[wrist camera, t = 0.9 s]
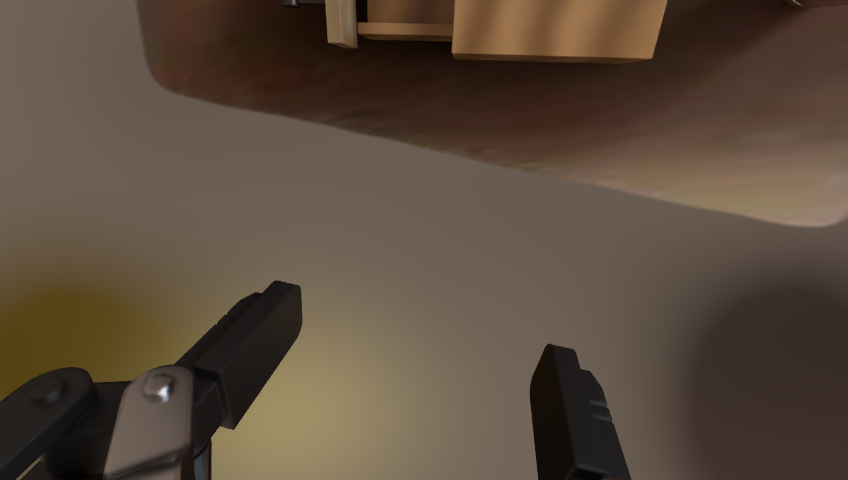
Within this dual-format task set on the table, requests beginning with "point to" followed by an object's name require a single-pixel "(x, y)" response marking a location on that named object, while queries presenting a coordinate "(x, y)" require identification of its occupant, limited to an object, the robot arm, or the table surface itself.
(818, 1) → the cup with straw
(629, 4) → the cabinet
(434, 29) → the drawer
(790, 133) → the table surface
